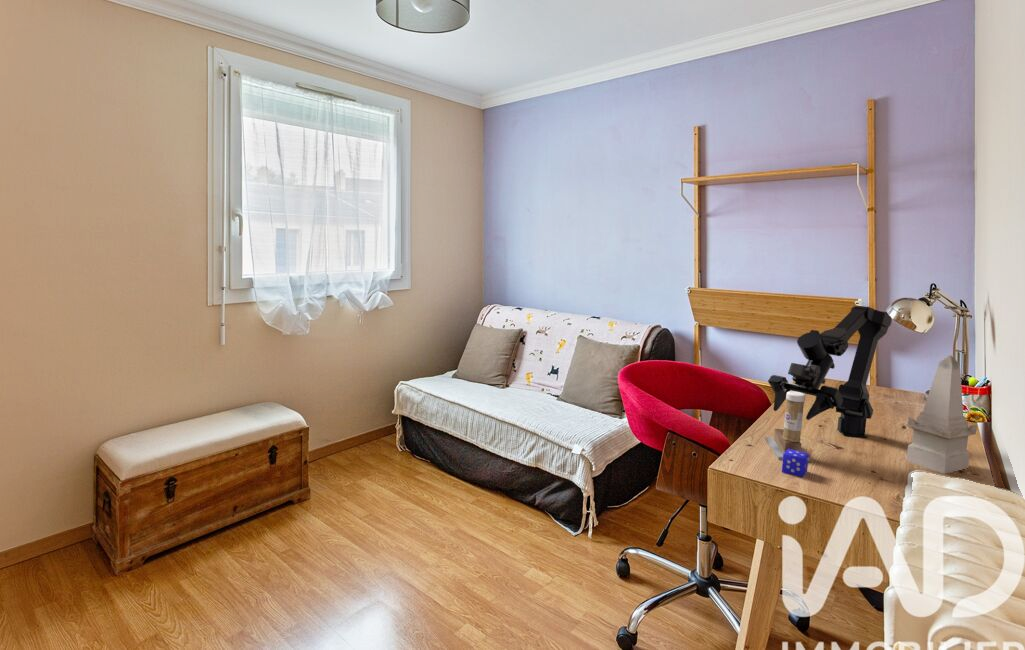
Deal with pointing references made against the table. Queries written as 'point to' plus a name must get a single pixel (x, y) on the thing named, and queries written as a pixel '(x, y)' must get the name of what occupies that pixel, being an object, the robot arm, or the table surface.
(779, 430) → the ridge
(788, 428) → the spice jar
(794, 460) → the die
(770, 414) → the table surface
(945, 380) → the miniature monument
